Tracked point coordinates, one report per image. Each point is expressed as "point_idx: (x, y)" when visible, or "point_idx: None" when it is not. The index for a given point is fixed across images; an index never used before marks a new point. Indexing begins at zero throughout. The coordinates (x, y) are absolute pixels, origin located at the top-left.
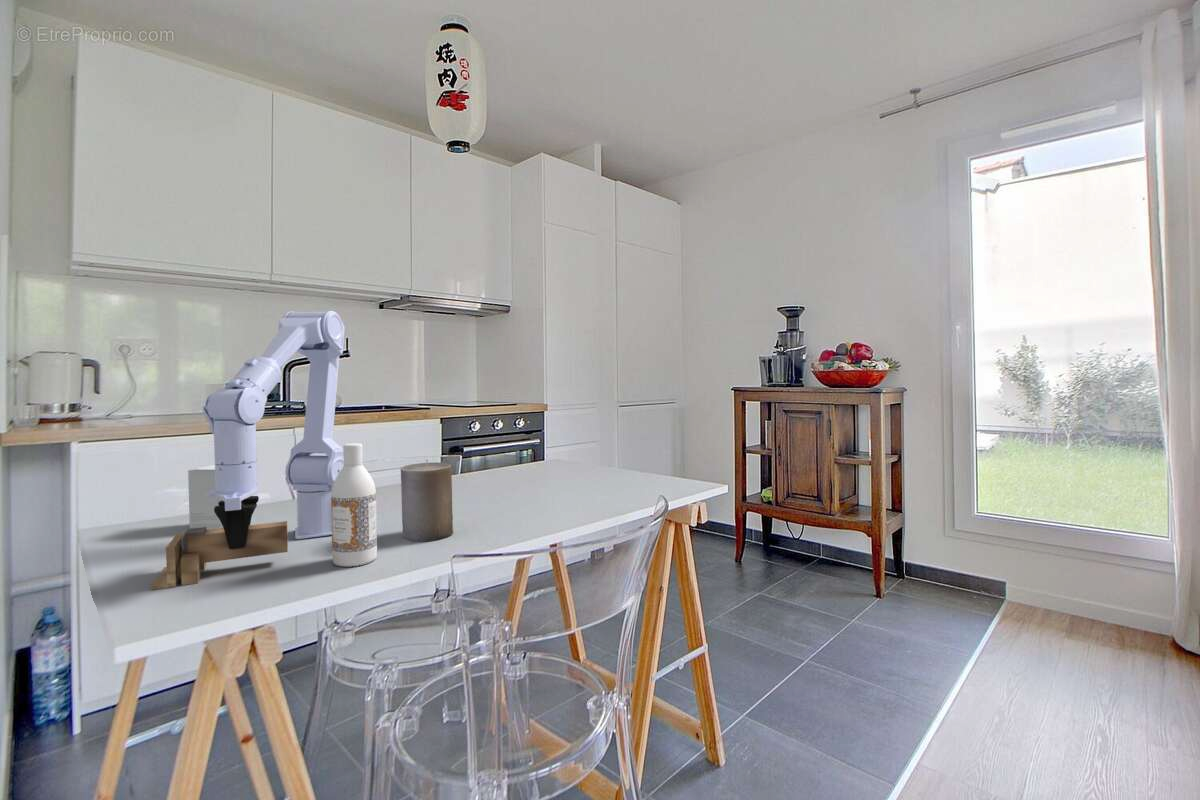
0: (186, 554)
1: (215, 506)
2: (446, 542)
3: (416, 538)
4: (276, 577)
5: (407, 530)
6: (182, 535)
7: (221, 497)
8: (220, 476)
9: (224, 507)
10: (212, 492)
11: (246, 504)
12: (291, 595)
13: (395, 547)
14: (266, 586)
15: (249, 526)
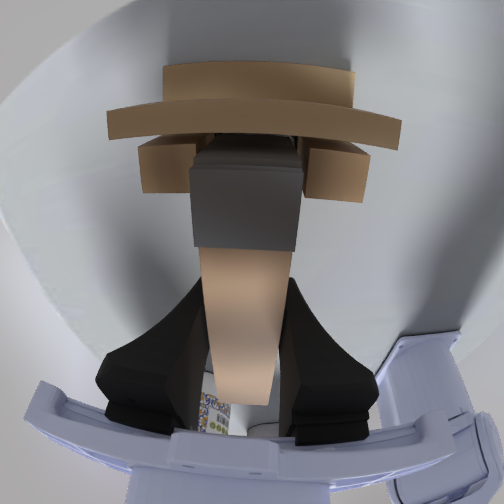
0: (192, 153)
1: (152, 387)
2: (233, 434)
3: (254, 429)
4: (153, 304)
5: (267, 435)
6: (326, 138)
7: (76, 434)
8: None
9: (117, 398)
10: (172, 466)
11: (282, 423)
12: (72, 308)
13: (242, 413)
14: (110, 287)
15: (256, 356)
